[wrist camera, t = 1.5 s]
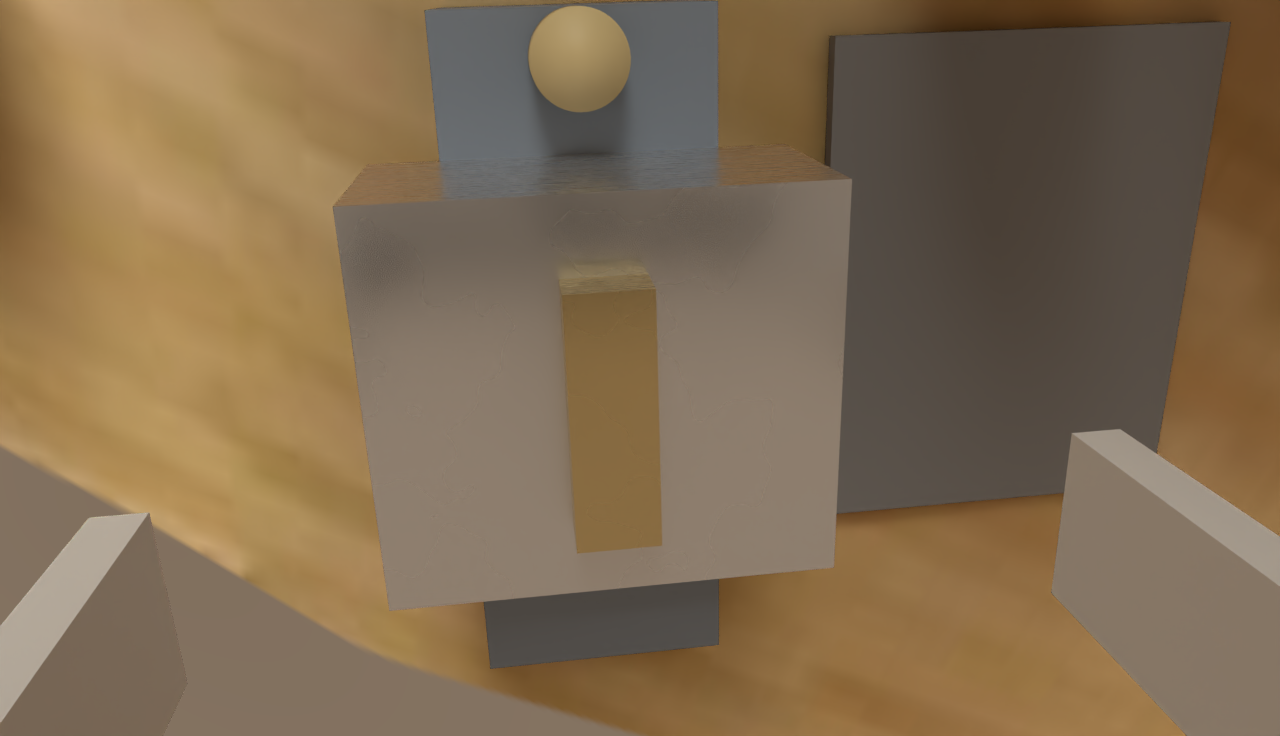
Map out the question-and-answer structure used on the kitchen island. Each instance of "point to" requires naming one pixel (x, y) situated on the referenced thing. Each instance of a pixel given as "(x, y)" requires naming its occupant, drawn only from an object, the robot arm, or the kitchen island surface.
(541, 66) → the block plane
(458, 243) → the lever cap
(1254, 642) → the robot arm
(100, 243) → the kitchen island surface
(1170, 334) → the rubber mat
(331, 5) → the kitchen island surface
